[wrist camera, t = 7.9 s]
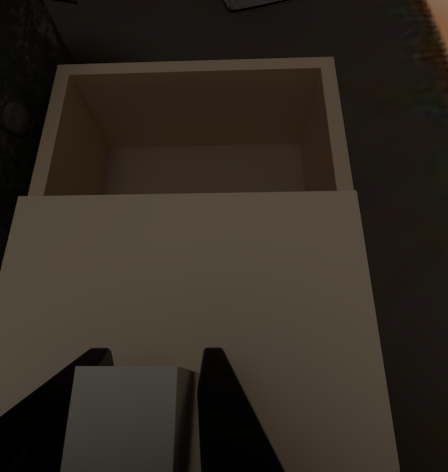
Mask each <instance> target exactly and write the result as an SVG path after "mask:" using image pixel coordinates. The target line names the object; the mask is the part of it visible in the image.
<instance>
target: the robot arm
mask: <svg viewBox="0 0 448 472" xmlns="http://www.w3.org/2000/svg"><path fill="white" fill-rule="evenodd" d="M75 366H114V363H113V357H112V352H111V350H110V349H109V348H90V349H89V350H87V351H86V352H85V353H83V354H82V355H81V356H79V357H78V358H77V359H75V360H74V361H73V362H71V363H70V364H69V365H67V366H66V367H65V368H63V369H62V370H61V371H60V372H58V373H57V374H56V375H54V376H53V377H52V378H50V379H49V380H48V381H46V382H45V383H44V384H42V385H41V386H40V387H38V388H37V389H36V390H34V391H33V392H32V393H31V394H29V395H28V396H27V397H25V398H24V399H23V400H21V401H20V402H19V403H17V404H16V405H15V406H13V407H12V408H11V409H9V410H8V411H7V412H6V413H4V414H3V415H2V416H0V472H60V469H61V463H62V456H63V449H64V442H65V435H66V428H67V421H68V414H69V408H70V401H71V394H72V387H73V380H74V373H75ZM197 403H198V423H199V442H200V462H201V472H285V470H284V468H283V466H282V464H281V462H280V460H279V458H278V456H277V454H276V452H275V450H274V448H273V446H272V444H271V443H270V441H269V439H268V437H267V435H266V433H265V431H264V429H263V427H262V425H261V423H260V421H259V419H258V417H257V415H256V413H255V411H254V409H253V407H252V405H251V403H250V401H249V399H248V397H247V395H246V393H245V391H244V389H243V387H242V385H241V383H240V381H239V379H238V377H237V375H236V373H235V371H234V369H233V367H232V365H231V363H230V361H229V359H228V357H227V355H226V354H225V352H224V350H223V348H221V347H206V348H205V349H204V350H203V356H202V362H201V368H200V374H199V380H198V388H197Z"/></svg>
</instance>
